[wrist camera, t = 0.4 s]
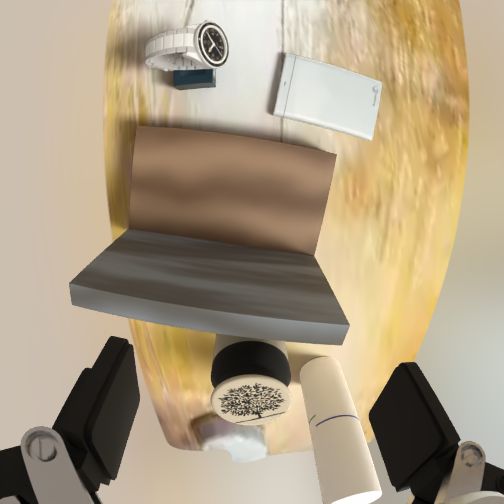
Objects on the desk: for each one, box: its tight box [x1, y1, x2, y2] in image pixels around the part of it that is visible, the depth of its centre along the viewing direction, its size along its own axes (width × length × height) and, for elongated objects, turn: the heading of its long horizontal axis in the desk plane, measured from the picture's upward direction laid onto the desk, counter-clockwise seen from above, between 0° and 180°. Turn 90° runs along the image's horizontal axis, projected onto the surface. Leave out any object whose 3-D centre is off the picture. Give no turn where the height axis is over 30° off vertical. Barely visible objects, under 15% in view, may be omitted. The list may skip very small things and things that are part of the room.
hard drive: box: [273, 53, 382, 141], centre depth 31 cm, size 2×8×12 cm
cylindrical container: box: [299, 357, 382, 504], centre depth 35 cm, size 7×7×25 cm
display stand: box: [69, 126, 350, 345], centre depth 27 cm, size 14×22×18 cm, turn 81°
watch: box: [145, 20, 229, 90], centre depth 25 cm, size 6×8×11 cm
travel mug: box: [211, 333, 292, 425], centre depth 33 cm, size 8×8×18 cm
